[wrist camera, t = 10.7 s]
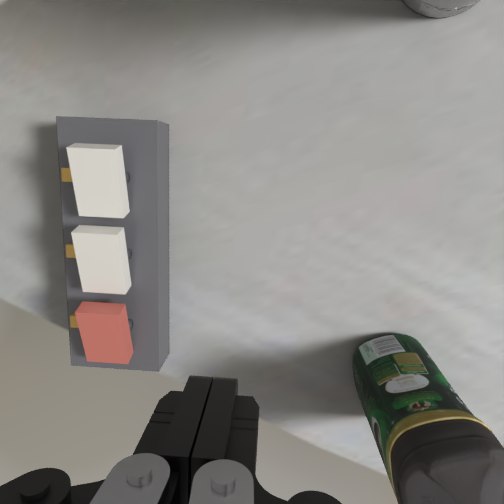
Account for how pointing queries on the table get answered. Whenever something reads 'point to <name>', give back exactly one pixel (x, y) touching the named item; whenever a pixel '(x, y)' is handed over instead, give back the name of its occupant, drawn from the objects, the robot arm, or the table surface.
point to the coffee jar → (425, 427)
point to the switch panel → (136, 234)
